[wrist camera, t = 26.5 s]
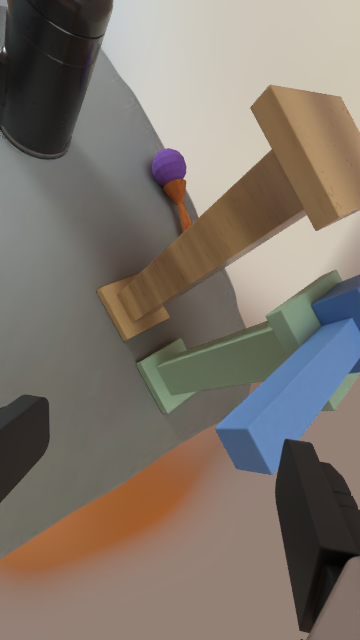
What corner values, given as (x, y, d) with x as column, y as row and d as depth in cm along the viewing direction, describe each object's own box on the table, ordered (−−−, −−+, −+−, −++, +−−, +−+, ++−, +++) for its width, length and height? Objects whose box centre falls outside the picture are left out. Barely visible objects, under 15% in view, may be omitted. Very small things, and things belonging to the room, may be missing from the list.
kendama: (191, 257, 48) (154, 140, 49) (176, 268, 54) (143, 163, 54) (221, 251, 51) (185, 140, 52) (204, 263, 56) (172, 162, 57)
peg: (252, 501, 15) (317, 518, 12) (196, 396, 15) (248, 389, 12) (370, 343, 26) (418, 333, 23) (337, 283, 26) (382, 265, 23)
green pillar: (157, 418, 42) (335, 411, 21) (129, 367, 42) (280, 309, 21) (204, 381, 48) (378, 348, 27) (180, 337, 48) (336, 269, 27)
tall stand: (117, 345, 42) (340, 217, 16) (90, 294, 41) (269, 83, 16) (169, 317, 48) (392, 193, 22) (145, 273, 48) (340, 96, 22)
